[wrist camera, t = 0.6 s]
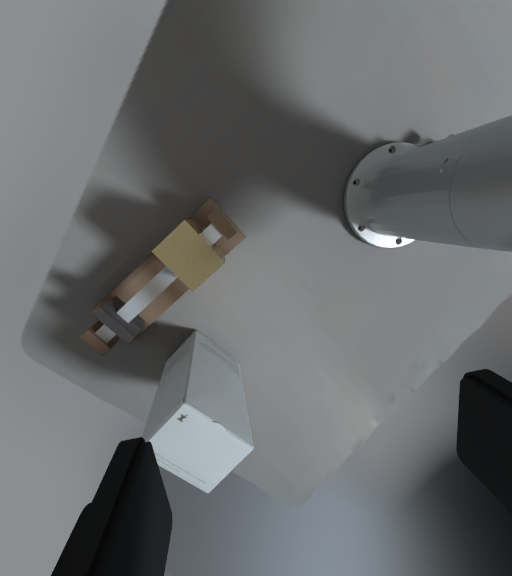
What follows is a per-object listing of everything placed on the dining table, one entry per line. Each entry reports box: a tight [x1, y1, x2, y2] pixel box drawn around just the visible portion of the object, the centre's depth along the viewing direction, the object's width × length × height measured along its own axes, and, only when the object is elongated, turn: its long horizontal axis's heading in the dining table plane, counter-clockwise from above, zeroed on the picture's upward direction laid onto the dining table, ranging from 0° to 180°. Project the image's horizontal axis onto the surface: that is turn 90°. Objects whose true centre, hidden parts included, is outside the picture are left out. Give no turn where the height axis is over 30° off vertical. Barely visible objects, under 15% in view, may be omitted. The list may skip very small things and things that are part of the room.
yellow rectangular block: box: [151, 219, 225, 292], centre depth 28 cm, size 4×5×7 cm
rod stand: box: [80, 197, 246, 356], centre depth 32 cm, size 20×6×8 cm, turn 132°
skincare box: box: [142, 330, 254, 493], centre depth 32 cm, size 8×7×16 cm
